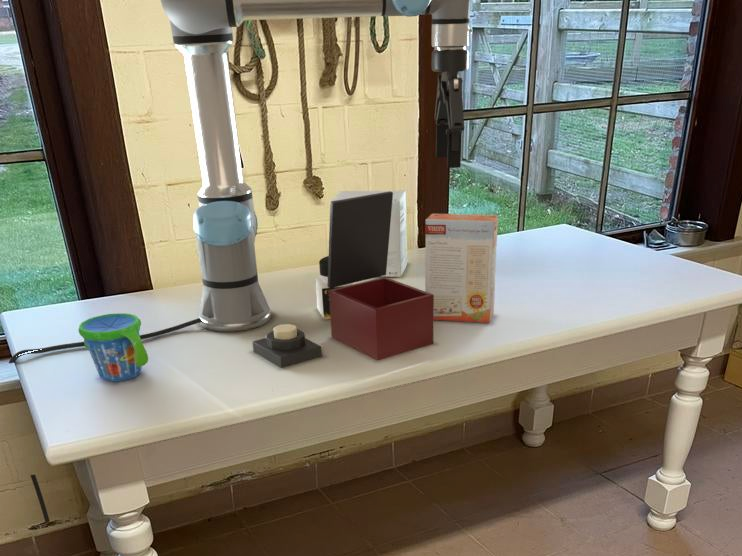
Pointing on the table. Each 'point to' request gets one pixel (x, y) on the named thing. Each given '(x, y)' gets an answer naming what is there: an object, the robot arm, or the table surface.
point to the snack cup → (115, 345)
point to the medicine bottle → (324, 289)
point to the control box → (287, 349)
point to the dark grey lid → (359, 238)
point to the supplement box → (397, 229)
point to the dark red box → (382, 317)
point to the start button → (285, 331)
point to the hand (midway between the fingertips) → (447, 162)
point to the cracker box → (461, 266)
